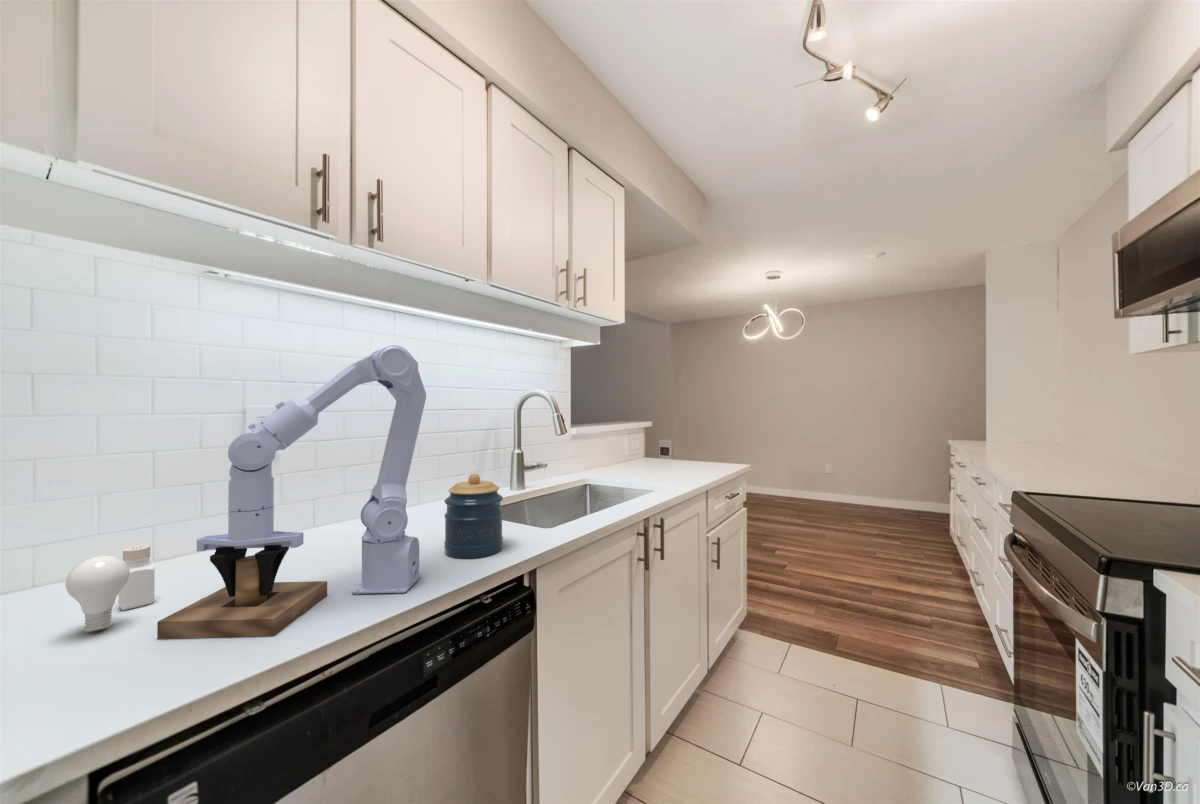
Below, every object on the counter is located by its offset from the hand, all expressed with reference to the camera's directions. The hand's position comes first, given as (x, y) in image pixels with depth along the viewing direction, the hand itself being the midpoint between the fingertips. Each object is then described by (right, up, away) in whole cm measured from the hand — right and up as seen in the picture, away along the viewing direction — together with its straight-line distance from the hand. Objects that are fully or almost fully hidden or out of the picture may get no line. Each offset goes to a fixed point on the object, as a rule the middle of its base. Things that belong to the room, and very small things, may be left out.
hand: (251, 593), depth 72 cm
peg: (0, -3, 0) cm, 3 cm away
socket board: (0, -3, 0) cm, 3 cm away
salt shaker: (-22, -4, +4) cm, 23 cm away
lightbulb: (-19, -4, -5) cm, 20 cm away
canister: (+26, -4, +32) cm, 42 cm away
